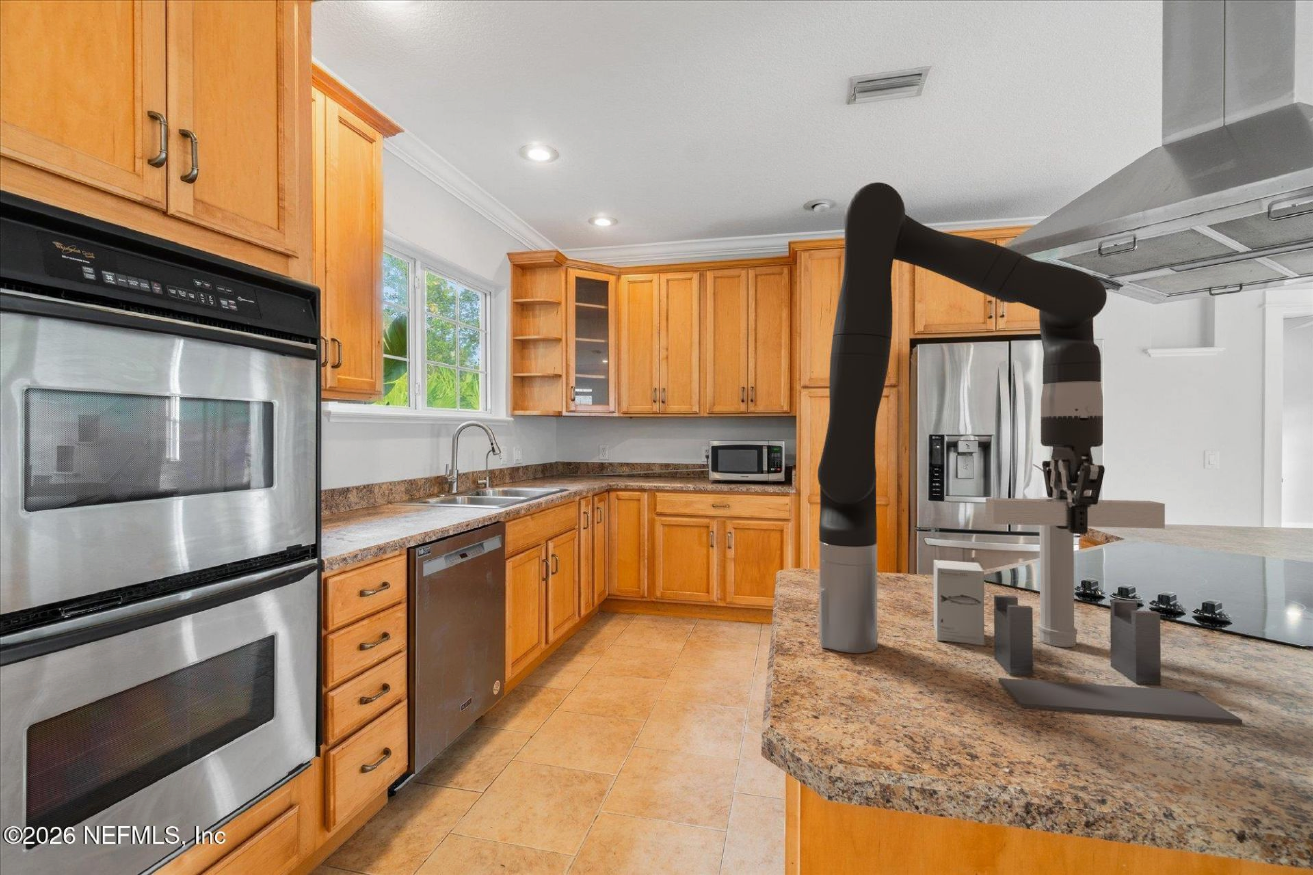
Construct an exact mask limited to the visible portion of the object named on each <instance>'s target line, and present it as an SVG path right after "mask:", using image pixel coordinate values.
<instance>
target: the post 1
mask: <svg viewBox="0 0 1313 875" xmlns="http://www.w3.org/2000/svg"><path fill="white" fill-rule="evenodd" d="M1033 615H1034V613H1033V607H1032V606H1030V605H1021V604H1020V605H1019V597H1017V596H1016V595H998V594H997V595H996V594H995V595H993V625H994V626H993V631H994V633H993V636H994V637H993V639H994V640H993V642H994V645H993V646H994V651H993V653H994V654H993V655H994V657H993V658H994V660H995V662H997V663H998V664H999V666H1001V667H1002V668H1003V670H1005V672H1006V673H1007V674H1009V676H1014V677H1027V678H1028V677H1029V678H1033V677H1034V628H1033V627H1034V624H1033V622H1034V621H1033V618H1034V617H1033Z"/></svg>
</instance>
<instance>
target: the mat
mask: <svg viewBox="0 0 1313 875" xmlns="http://www.w3.org/2000/svg"><path fill="white" fill-rule="evenodd" d="M998 683H999V685H1001V686H1002V688H1003V689H1004V690H1005V691H1006V692H1007V693H1008V695H1009V696H1010V697H1011V698H1012V699H1013V700H1014V701H1015V703H1016V704H1018V706H1020V708H1021V709H1032V710H1044V711H1045V710H1046V711H1058V712H1059V711H1060V712H1069V713H1071V712H1072V713H1082V714H1083V713H1086V714H1098V715H1107V716H1109V715H1110V716H1124V717H1135V718H1149V719H1162V720H1173V721H1174V720H1176V721H1189V722H1200V723H1214V724H1227V725H1241V726H1243V719H1241V718H1240V717H1238V716H1237V715H1235V714H1233V713H1232V712H1230V711H1229V710H1227V709H1225V708H1223V707H1222V706H1220V705H1219V704H1217V703H1216V702H1214V701H1212V700H1211V699H1209V698H1208V697H1207V696H1204V695H1203V694H1201V693H1199V692H1198V691H1196V690H1186V689H1185V690H1184V689H1183V690H1181V689H1167V688H1154V687H1153V688H1152V687H1139V686H1122V685H1108V684H1093V683H1079V682H1078V683H1076V682H1066V681H1065V682H1062V681H1051V680H1050V681H1049V680H1038V679H1037V680H1033V679H1018V678H1007V677H1006V678H1004V677H998Z"/></svg>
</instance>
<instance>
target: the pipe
mask: <svg viewBox="0 0 1313 875" xmlns="http://www.w3.org/2000/svg"><path fill="white" fill-rule="evenodd" d="M1032 466H1034V467H1035V468H1037V469H1039V470H1040V471H1041V472H1043V468H1041V467H1039V466H1038V465H1037V464H1034V463H1033V464H1032ZM1037 499H1052V498H1048V496H1040V497H1038V498H1037ZM1074 537H1075V534H1073V533H1070V532H1069V531H1068V529H1059V528H1056V526H1050V525H1039V602H1040V603H1039V612H1040V613H1039V617H1040V618H1039V620H1040V621H1039V622H1038V623H1037V625H1036V626H1037V627H1036V628H1037V629H1038V633H1037V634H1038V639H1039V641H1040V642H1041V643H1044V644H1046V645H1050V646H1053V647H1057V648H1058V647H1059V648H1072V647H1075V646H1076V645H1077V634H1078V629H1077V628H1076V627H1075V575H1074V574H1075V562H1074V561H1075V557H1074V555H1075V552H1074V551H1075V550H1074V548H1075V547H1074V546H1075V543H1074V540H1075V539H1074Z"/></svg>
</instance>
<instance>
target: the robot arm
mask: <svg viewBox="0 0 1313 875" xmlns="http://www.w3.org/2000/svg"><path fill="white" fill-rule="evenodd" d="M843 222H844V223H843V224H844V225H843V226H844V263H843V272H842V273H843V275H842V280H841V286H840V289H839V290H840V291H839V296H838V301H837V305H836V306H837V307H836V312H835V317H834V318H835V319H834V325H833V332H832V340H831V342H832V343H831V349H830V358H829V359H830V362H829V376H828V378H829V385H828V386H829V388H828V389H829V398H828V399H829V414H828V423H827V429H826V434H825V438H824V445H823V448H822V453H821V456H820V461H819V465H818V469H817V482H818V485H819V498H820V499H819V502H820V503H819V506H820V509H819V510H820V511H819V525H818V533H819V534H818V535H819V538H818V539H819V543H818V544H819V581H818V638H819V642H820V647H821V648H823V649H830V650H833V651H837V652H842V653H850V654H863V653H864V654H865V653H869V652H873V651H875V650H876V649H878V644H879V643H878V639H879V632H878V631H879V630H878V628H879V627H878V543H877V542H878V536H877V535H878V523H877V522H878V521H877V520H878V516H877V468H876V467H877V466H876V433H877V432H876V430H877V420H878V413H879V410H880V405H881V401H882V397H883V393H884V390H885V386H886V385H885V384H886V381H887V375H888V370H889V363H890V356H891V349H892V348H891V347H892V338H893V289H892V270H893V263H894V261H895V260H896V261H898V262H903V263H906V264H910V265H913V266H916V267H919V268H922V269H925V270H928V271H930V272H932V273H935V274H937V275H940V276H943V277H945V278H948V279H949V280H952V281H955V282H957V283H959V284H961V285H963V286H965V287H968V288H971V289H972V290H975V291H977V292H979V293H982V294H985V295H987V296H989V297H991V298H995V299H996V300H999V301H1002V302H1004V303H1008V304H1015V303H1017V304H1018V303H1020V304H1022V305H1025V306H1028V307H1031V308H1033V309H1035V310H1039V312H1038V317H1039V318H1038V319H1039V320H1038V321H1039V330H1040V331H1039V332H1040V339H1041V345H1042V350H1043V357H1042V358H1043V360H1042V390H1041V396H1040V444H1041V445H1042V447H1051V448H1052V452H1051V455H1050V459H1051V460H1043V461H1041V462H1042V463H1041V466H1042V470H1043V471H1042V472H1043V478H1044V485H1045V489H1046V490H1045V491H1046V497H1048V498H1052V499H1068V505H1069V507H1068V526H1056V528H1059V529H1068V531H1069V532H1070V533H1073V534H1074V535H1078V534H1079V535H1086V534H1087V533H1088V532H1089V530H1088V527H1089V526H1088V508H1090V507H1091V505H1097V503H1098V500H1100V499H1099V498H1100V493H1101V491H1102V490H1101V489H1102V485H1103V481H1104V474H1105V470H1106V468H1105V465H1103V464H1095V463H1094V461H1093V460H1094V459H1093V455H1092V450H1091V449H1092V448H1097V447H1098V448H1099V447H1101V446H1103V445H1104V396H1103V394H1104V393H1103V390H1102V357H1101V351H1100V348H1099V346H1098V345H1097V344H1096V343H1095V338H1094V336H1095V335H1094V318H1095V317H1096V316H1097V315H1099V314H1100V312H1101V311H1102V310H1103V309H1104V307H1105V306H1106V302H1107V300H1108V299H1107V298H1108V297H1107V296H1108V295H1107V290H1106V288H1105V285H1104V284H1103V283H1102V282H1101V281H1100V280H1099V279H1097V278H1096V277H1094V276H1093V275H1091V274H1089V273H1087V272H1085V271H1081V270H1079V269H1076V268H1072V267H1068V266H1064V265H1060V264H1055V263H1051V262H1048V261H1047V262H1045V261H1040V260H1036V259H1034V258H1031V257H1029V256H1027V255H1024V254H1022V253H1020V252H1017V251H1015V250H1012V249H1011V248H1010V249H1009V248H1007V247H1004V246H1003V245H1000V244H996V243H994V242H990V241H988V240H987V241H986V240H984V239H979V238H978V239H977V238H973V237H969V236H963V235H957V234H951V233H946V232H943V231H940V230H937V229H934V228H932V227H929V226H927V225H924V224H922V223H921V222H919V221H917V220H915V219H913V218H912V217H910V216H909V215H907V214H906V208H905V202H904V200H903V198H902V196H901V195H900V193H899V192H898V191H897V190H896V189H895V188H894V187H893V186H891V185H890V184H889V183H888V184H887V183H886V182H878V181H877V182H870V183H868V184H866V185H864V186H862V187H860V189H858V190H857V191H856V192H855V193H854V194H853V195H852V197H851V198H850V199H849V201H848V203H847V205H846V208H845V211H844V216H843Z"/></svg>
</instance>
